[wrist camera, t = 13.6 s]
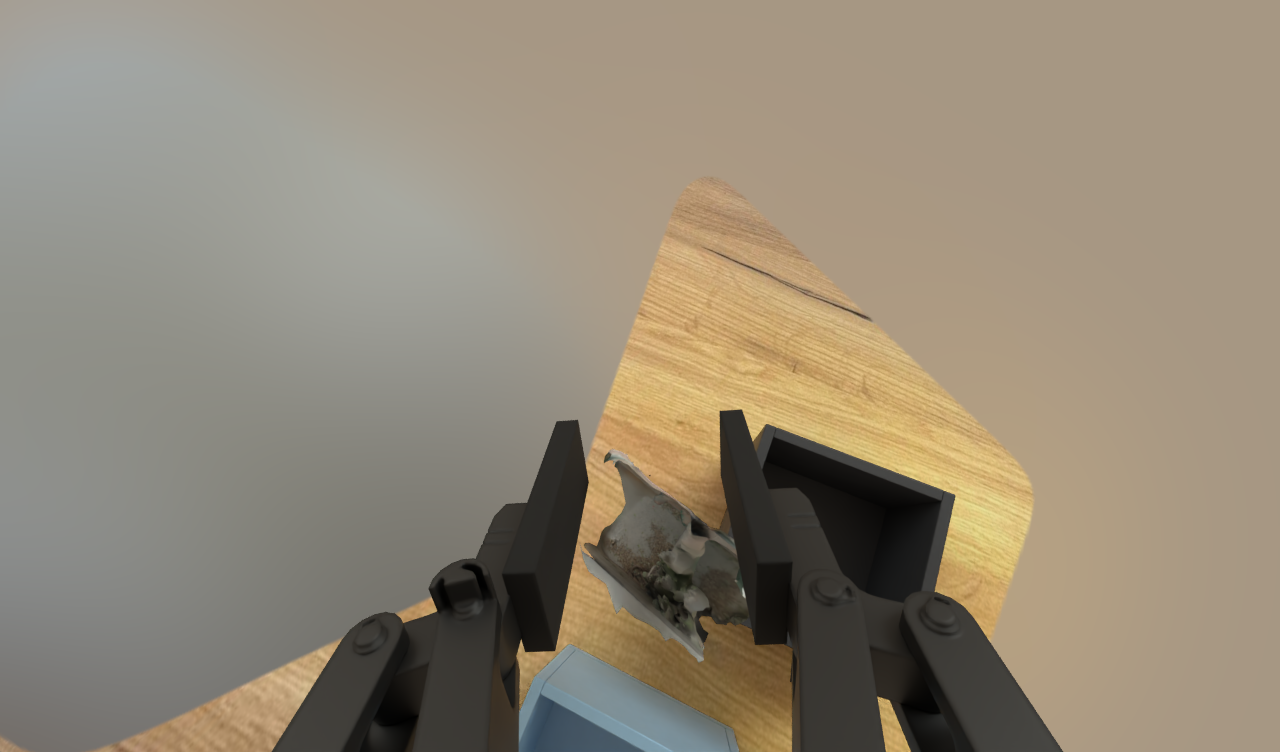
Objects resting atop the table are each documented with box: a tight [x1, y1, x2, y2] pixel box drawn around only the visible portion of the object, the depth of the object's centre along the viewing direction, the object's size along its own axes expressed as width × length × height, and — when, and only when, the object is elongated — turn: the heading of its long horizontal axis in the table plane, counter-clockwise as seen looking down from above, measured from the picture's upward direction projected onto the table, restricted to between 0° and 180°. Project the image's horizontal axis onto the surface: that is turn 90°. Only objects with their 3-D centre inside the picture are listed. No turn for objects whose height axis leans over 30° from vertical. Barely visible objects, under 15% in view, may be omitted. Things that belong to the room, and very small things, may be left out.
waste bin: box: [719, 424, 955, 648], centre depth 28 cm, size 10×10×8 cm
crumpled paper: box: [579, 449, 749, 662], centre depth 15 cm, size 4×8×7 cm, turn 52°
